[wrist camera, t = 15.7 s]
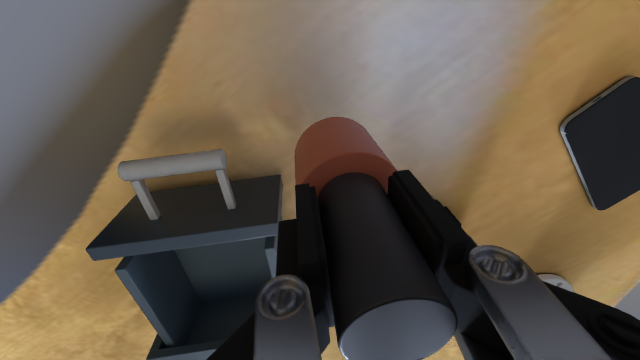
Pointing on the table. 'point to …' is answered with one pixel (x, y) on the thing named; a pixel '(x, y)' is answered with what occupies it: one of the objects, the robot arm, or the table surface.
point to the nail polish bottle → (370, 250)
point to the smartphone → (607, 143)
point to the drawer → (194, 246)
